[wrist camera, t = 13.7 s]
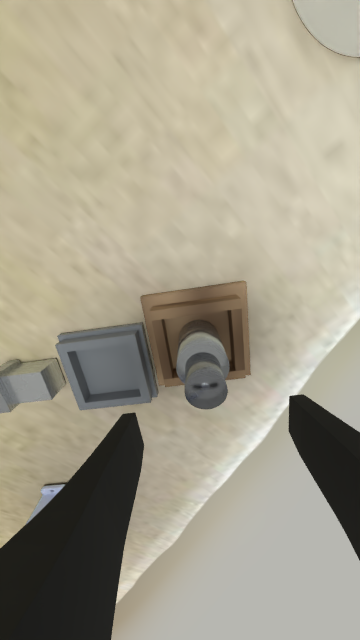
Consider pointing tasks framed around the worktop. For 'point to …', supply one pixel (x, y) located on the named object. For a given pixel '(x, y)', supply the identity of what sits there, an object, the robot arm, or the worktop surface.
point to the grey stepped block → (28, 382)
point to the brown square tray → (198, 304)
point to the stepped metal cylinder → (202, 364)
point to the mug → (333, 23)
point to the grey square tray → (108, 366)
